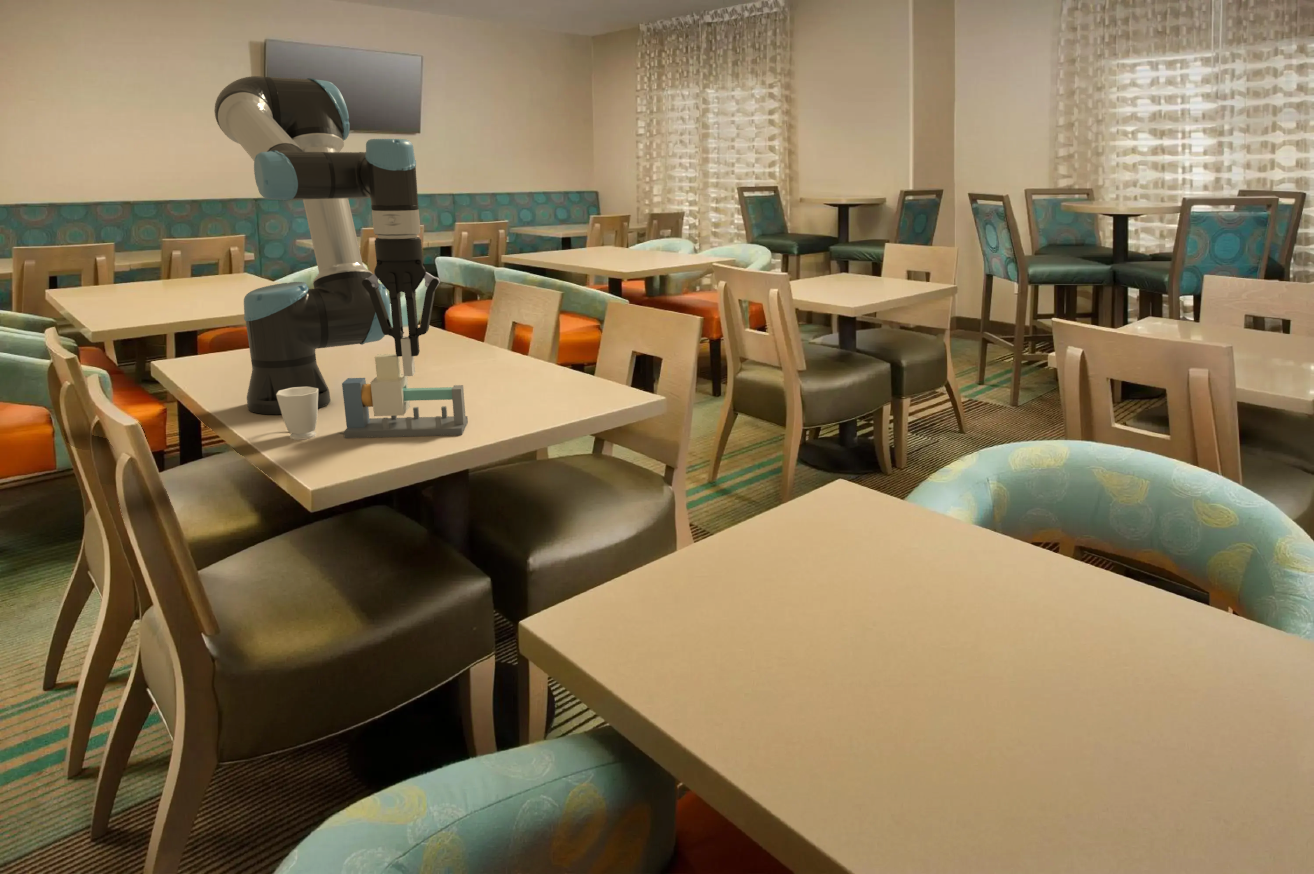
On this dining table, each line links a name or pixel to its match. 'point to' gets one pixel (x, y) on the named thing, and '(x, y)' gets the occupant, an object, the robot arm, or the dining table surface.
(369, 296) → the robot arm
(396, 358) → the sleeve
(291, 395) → the cup
